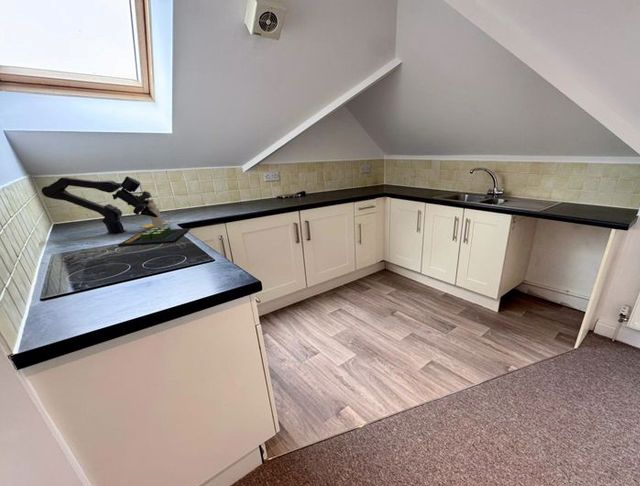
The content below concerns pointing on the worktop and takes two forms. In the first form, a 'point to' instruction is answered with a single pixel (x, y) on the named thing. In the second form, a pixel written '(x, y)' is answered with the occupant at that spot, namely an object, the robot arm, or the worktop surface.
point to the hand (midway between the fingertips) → (158, 215)
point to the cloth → (150, 225)
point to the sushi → (155, 236)
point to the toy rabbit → (156, 221)
